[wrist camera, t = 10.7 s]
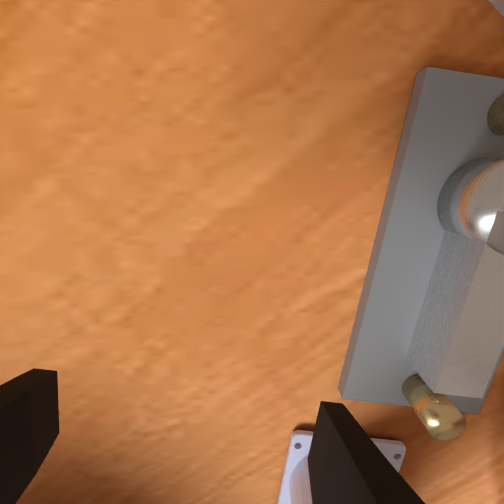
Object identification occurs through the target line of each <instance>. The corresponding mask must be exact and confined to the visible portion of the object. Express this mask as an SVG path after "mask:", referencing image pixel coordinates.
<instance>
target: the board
mask: <svg viewBox="0 0 504 504" xmlns="http://www.w3.org/2000/svg"><path fill="white" fill-rule="evenodd" d="M503 94H504V78H497V77H491V76H485V75H479V74H472V73H466V72H460V71H454V70H447V69H441V68H435V67H426V68H424V69H423V70H421V71H419V72H417V75H416V79H415V83H414V87H413V91H412V95H411V99H410V103H409V107H408V111H407V115H406V119H405V123H404V127H403V131H402V135H401V139H400V143H399V147H398V151H397V155H396V159H395V163H394V167H393V171H392V175H391V179H390V183H389V187H388V191H387V195H386V199H385V203H384V207H383V211H382V215H381V219H380V222H379V226H378V230H377V234H376V238H375V242H374V246H373V250H372V254H371V258H370V262H369V266H368V270H367V274H366V278H365V282H364V286H363V290H362V294H361V298H360V302H359V306H358V310H357V314H356V318H355V322H354V326H353V330H352V334H351V338H350V342H349V346H348V350H347V354H346V358H345V362H344V366H343V370H342V374H341V378H340V382H339V386H338V389H339V392H340V394H341V397H342V399H347V400H356V401H365V402H373V403H382V404H391V405H400V406H408V407H411V406H410V404H409V403H408V401H407V400H406V398H405V397H404V395H403V393H402V384H403V382H404V381H405V380H406V379H407V378H408V377H409V376H411V375H414V374H418V373H417V372H416V370H415V369H414V368H413V367H412V365H411V364H410V363H409V362H408V361H407V359H406V355H407V352H408V349H409V346H410V342H411V339H412V336H413V333H414V329H415V326H416V323H417V320H418V316H419V313H420V310H421V307H422V303H423V300H424V297H425V294H426V291H427V287H428V284H429V281H430V278H431V274H432V271H433V268H434V265H435V261H436V258H437V255H438V252H439V249H440V245H441V242H442V239H443V236H444V232H445V230H444V228H443V227H442V225H441V223H440V221H439V218H438V214H437V201H438V196H439V193H440V190H441V188H442V186H443V184H444V183H445V181H446V180H447V178H448V177H449V176H450V175H451V174H452V173H453V172H454V171H455V170H456V169H457V168H459V167H460V166H462V165H463V164H465V163H467V162H469V161H471V160H474V159H478V158H487V157H504V136H499V135H496V134H494V133H493V132H492V131H491V130H490V128H489V126H488V123H487V114H488V110H489V108H490V106H491V104H492V103H493V102H494V101H495V100H496V99H497V98H498V97H499V96H501V95H503ZM503 352H504V345H503V348H502V350H501V353H500V355H499V358H498V360H497V363H496V365H495V368H494V370H493V373H492V375H491V378H490V380H489V383H488V385H487V388H486V390H485V393H484V395H483V398H482V399H481V398H473V397H464V396H456V395H447V394H445V395H446V396H447V397H448V399H449V400H450V401H451V402H452V403H453V404H454V406H455V407H456V408H457V409H458V410H459V411H460V412H461V413H469V414H479V412H480V409H481V407H482V404H483V402H484V399H485V397H486V394H487V392H488V390H489V387H490V385H491V382H492V380H493V377H494V375H495V372H496V370H497V367H498V365H499V362H500V360H501V357H502V355H503Z"/></svg>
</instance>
